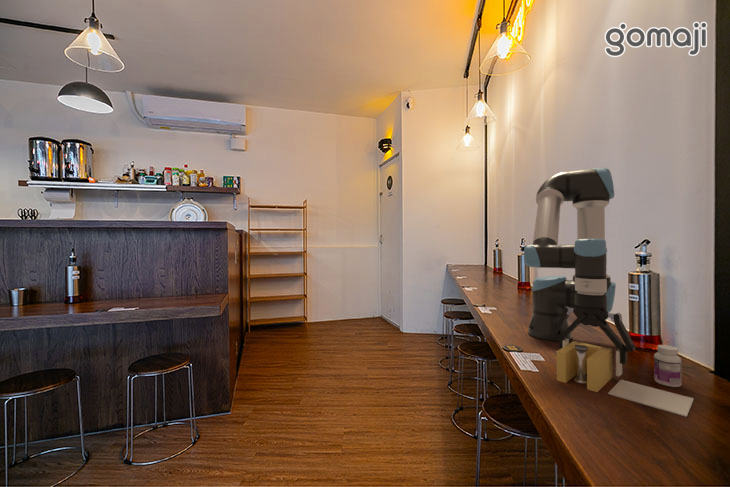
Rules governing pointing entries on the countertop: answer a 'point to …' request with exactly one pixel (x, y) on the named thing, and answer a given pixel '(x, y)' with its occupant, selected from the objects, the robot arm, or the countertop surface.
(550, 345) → the countertop surface
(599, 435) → the countertop surface
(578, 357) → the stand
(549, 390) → the countertop surface
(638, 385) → the felt mat
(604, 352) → the c link
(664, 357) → the pill bottle
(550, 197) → the robot arm
